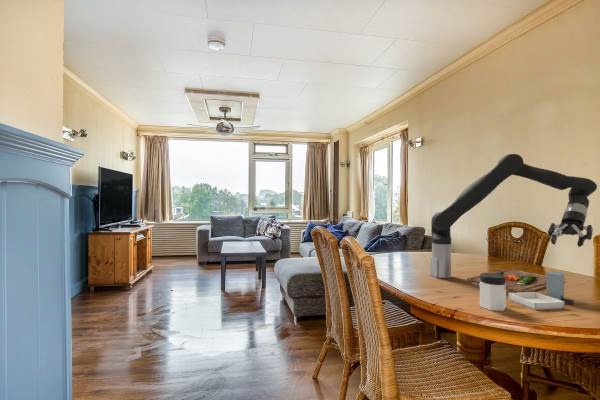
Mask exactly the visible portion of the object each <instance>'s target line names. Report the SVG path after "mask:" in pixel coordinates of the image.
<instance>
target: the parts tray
mask: <svg viewBox="0 0 600 400" xmlns="http://www.w3.org/2000/svg"><path fill="white" fill-rule="evenodd" d="M507 294H508V295H507V300H509V301H511V302H513V303H515V304H518V305H520V306H524V307H526V308H529V309H531V310H534V311H543V310H558V309H559V310H560V309H565V308H566V307H565V305H566V303H565V302H564V301H561V300H558V299H555V298H552V297H549V296H546V295H547V294H546V295H543V294H544V293H541V294H540V292H537V291H533V292H522V293H515V292H507Z"/></svg>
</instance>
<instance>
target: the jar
mask: <svg viewBox="0 0 600 400" xmlns="http://www.w3.org/2000/svg"><path fill="white" fill-rule="evenodd" d="M506 305H507V292H506V283H505V276H503V275H500V274H495V273H494V272H482V273H480V285H479V307H481V308H483V309H486V310H489V311H496V312H505V310H506V308H507V306H506Z"/></svg>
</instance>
